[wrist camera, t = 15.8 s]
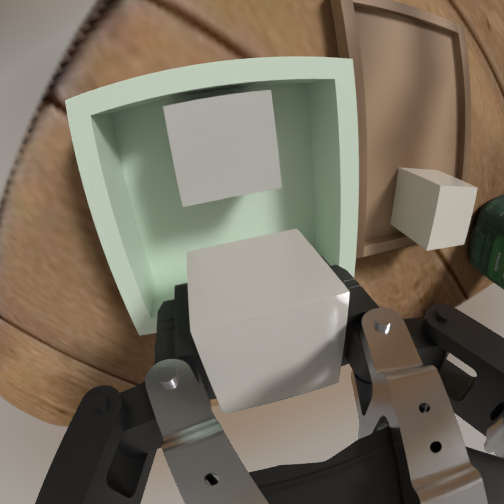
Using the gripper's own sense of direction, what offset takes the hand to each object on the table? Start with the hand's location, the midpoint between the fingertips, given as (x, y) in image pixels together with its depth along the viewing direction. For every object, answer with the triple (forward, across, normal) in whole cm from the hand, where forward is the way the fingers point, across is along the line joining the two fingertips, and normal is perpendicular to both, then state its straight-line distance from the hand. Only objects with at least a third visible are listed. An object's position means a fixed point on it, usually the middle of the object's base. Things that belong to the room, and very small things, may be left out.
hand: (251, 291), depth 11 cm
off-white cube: (+6, 0, -5) cm, 8 cm away
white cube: (+6, -13, 0) cm, 14 cm away
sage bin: (+7, 0, -2) cm, 7 cm away
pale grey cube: (0, 0, 0) cm, 0 cm away
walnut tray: (+7, -13, -5) cm, 16 cm away
